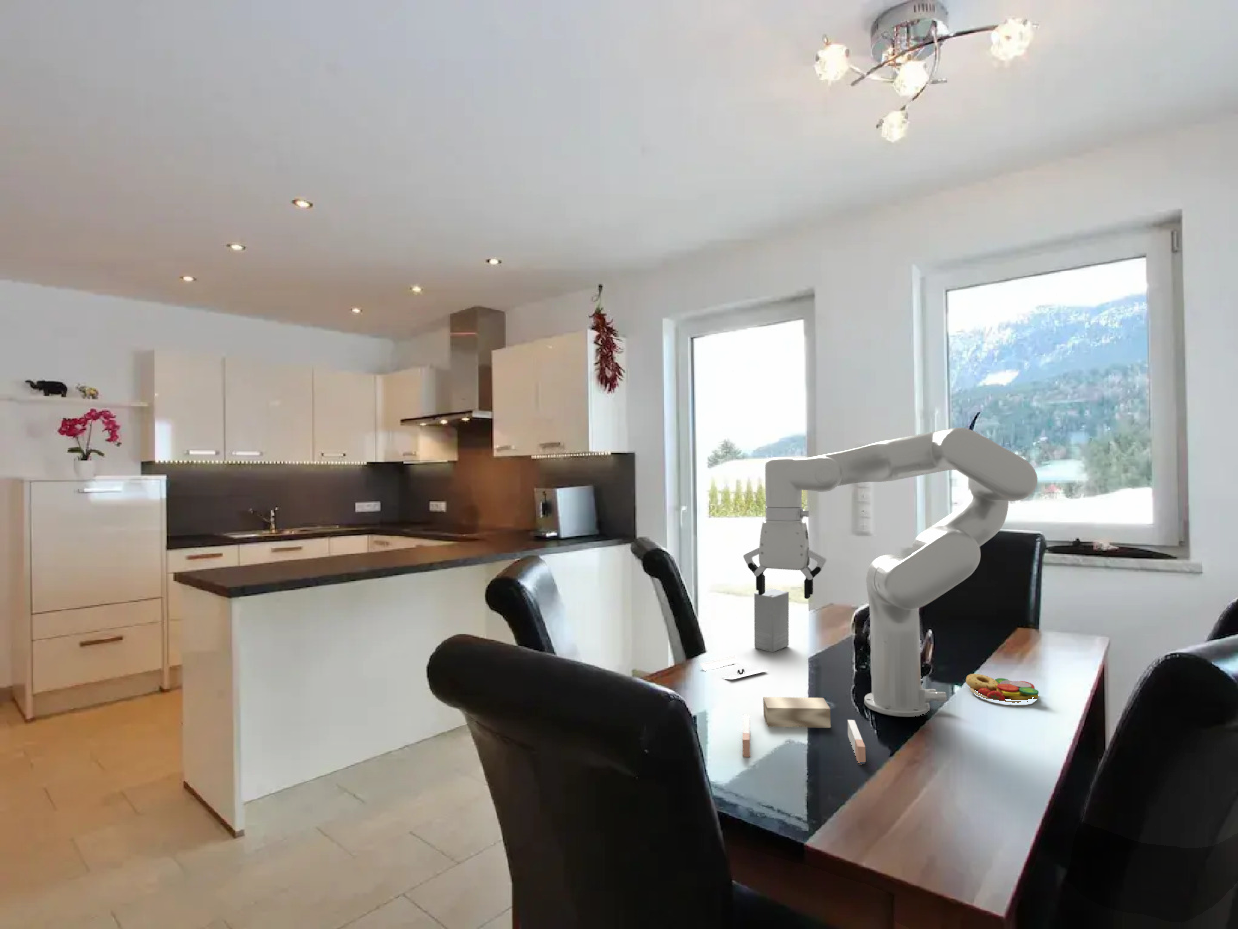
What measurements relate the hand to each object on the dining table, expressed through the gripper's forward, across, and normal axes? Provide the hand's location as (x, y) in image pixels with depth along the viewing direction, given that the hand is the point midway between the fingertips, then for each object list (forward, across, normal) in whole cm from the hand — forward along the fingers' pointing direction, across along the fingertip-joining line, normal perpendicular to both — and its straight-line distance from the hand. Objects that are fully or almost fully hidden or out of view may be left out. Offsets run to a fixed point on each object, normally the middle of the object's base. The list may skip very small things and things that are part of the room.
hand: (784, 596), depth 140 cm
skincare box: (+23, +13, -43) cm, 51 cm away
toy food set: (+23, -42, -24) cm, 54 cm away
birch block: (+24, -4, +8) cm, 25 cm away
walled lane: (+23, -7, +20) cm, 31 cm away
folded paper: (+24, +17, -19) cm, 35 cm away
